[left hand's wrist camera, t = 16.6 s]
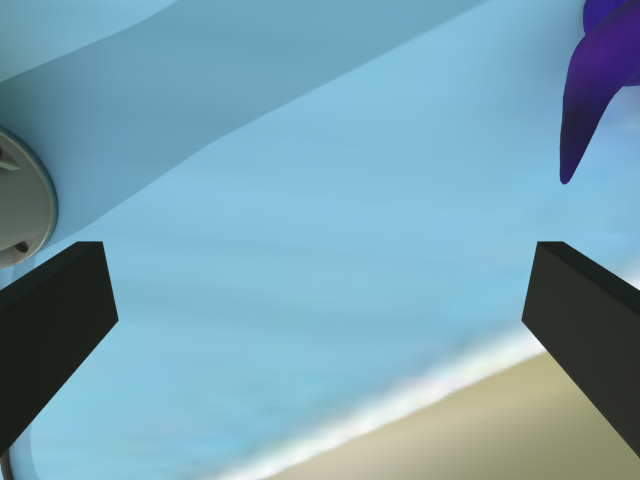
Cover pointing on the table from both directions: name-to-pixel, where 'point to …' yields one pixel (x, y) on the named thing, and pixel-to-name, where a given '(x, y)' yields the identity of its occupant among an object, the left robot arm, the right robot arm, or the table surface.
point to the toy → (598, 74)
